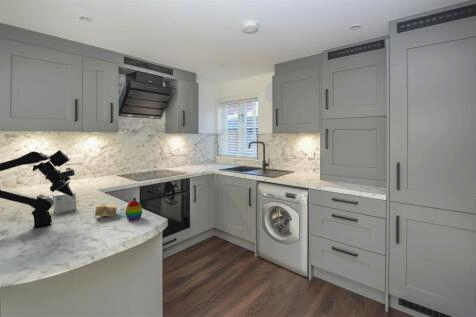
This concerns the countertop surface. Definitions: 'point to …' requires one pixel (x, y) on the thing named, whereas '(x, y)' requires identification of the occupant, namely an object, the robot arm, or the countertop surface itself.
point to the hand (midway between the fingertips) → (72, 195)
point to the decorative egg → (133, 210)
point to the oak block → (106, 210)
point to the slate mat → (118, 215)
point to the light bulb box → (64, 202)
